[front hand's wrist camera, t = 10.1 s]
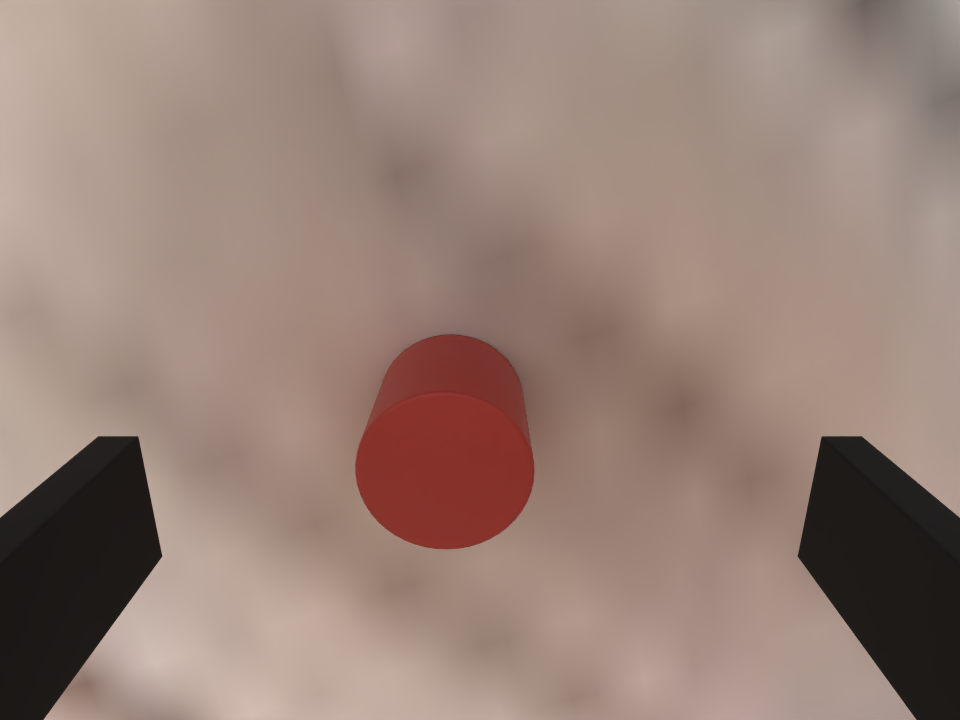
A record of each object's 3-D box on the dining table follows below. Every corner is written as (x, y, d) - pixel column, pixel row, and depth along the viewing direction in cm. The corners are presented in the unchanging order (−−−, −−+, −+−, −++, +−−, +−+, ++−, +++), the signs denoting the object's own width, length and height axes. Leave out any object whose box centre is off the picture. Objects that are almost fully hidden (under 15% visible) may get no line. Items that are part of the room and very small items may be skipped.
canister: (362, 437, 21) (331, 518, 17) (408, 312, 19) (388, 365, 15) (491, 482, 21) (494, 571, 17) (545, 364, 20) (563, 429, 16)
